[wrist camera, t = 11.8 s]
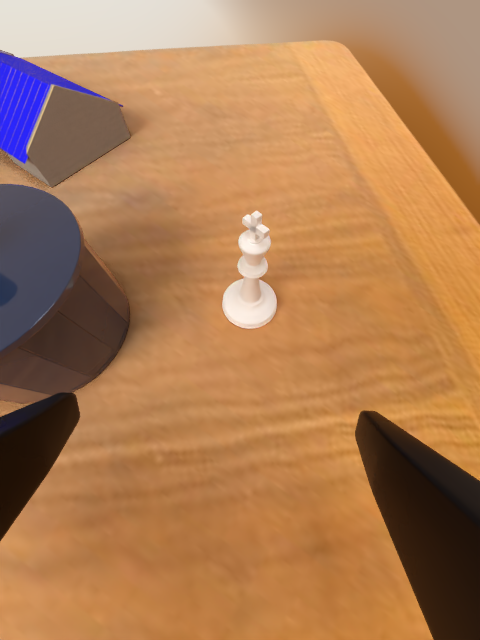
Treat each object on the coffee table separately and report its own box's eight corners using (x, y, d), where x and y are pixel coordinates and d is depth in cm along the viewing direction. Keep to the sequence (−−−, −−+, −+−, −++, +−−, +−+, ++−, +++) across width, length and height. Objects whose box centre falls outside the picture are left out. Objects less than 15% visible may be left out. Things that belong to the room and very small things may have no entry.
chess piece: (248, 272, 24) (254, 172, 15) (287, 303, 22) (320, 214, 13) (211, 304, 22) (192, 214, 13) (250, 340, 21) (259, 267, 12)
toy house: (-51, 126, 34) (-121, 51, 28) (37, 85, 39) (-5, 13, 32) (46, 190, 29) (-12, 116, 22) (134, 134, 33) (108, 59, 27)
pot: (131, 383, 19) (67, 352, 12) (-43, 419, 18) (-228, 408, 11) (128, 258, 25) (82, 184, 17) (-7, 279, 23) (-117, 210, 16)
